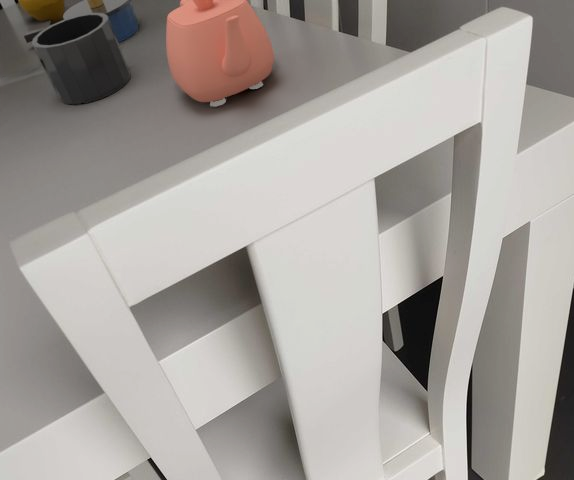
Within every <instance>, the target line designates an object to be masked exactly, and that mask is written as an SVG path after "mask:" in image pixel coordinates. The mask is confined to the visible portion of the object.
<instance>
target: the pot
mask: <svg viewBox="0 0 574 480" xmlns="http://www.w3.org/2000/svg"><path fill="white" fill-rule="evenodd" d="M48 26H49V25H48ZM31 45H32V47H33V49H34V51H35V54H36V55H37V57H38V59H39V62H40V64H41V66H42V68H43V69H44V72H45V74H46V75H47V77H48V79H49V82H50V83H51V85H52V87H53V90H54V91H55V93H56V95H57V97H58V98H59V100H60V101H61V102H62V103H63V104H64V105H65V104H66V105H69V104H80V105H82V104H81V103H86V104H88V103H87V102H90V103H92V102H91V101H94V102H96V101H95V100H97V101H99V100H98V99H100V100H102V99H101V98H103V99H105V98H107V97H109V96H111V95H114V94H115V93H116V92H119V91H120V90H121V89H122V88H123V87H125V86H126V85H127V84H128V83H129V81H130V79H131V77H132V75H131V71H130V68H129V65H128V63H127V59H126V57H125V54H124V53H123V50H122V48H121V45H120V42H118V40H117V37H116V35H115V32H114V30H113V28H112V25H111V23H110V20H109V18H108V16H107V15H105V14H103V13H87V14H82V15H77V16H74V17H71V18H68V19H62V20H61V21H60V22H58V23H55V24H53V25H51V26H49V27H48V28H46V29H44V30H43V31H41V32H40V33H38V34H37V35H36V36H35V37H34V38H33V41H32V42H31ZM106 96H107V97H106ZM104 97H105V98H104Z"/></svg>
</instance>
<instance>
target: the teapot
mask: <svg viewBox="0 0 574 480" xmlns="http://www.w3.org/2000/svg"><path fill="white" fill-rule="evenodd" d="M165 31H166V32H165V33H166V35H165V36H166V37H165V39H166V41H165V43H166V44H165V45H166V46H165V47H166V57H167V62H168V67H169V71H170V73H171V76H172V78H173V80H174V82H175V84H176V85H177V86H178V87H179V88H180V89H181V90H182V91H183V92H184V93H185V94H186V95H187V96H189V97H190V98H191V99H193V100H194V101H197V102H199V103H209V102H210V101H213V102H215V101H219V100H222V99H223V98H225V97H226V98H228V97H230V96H232V95H236V94H238V93H241V92H243V91H246V90H248V88H249V87H251V86H253V85H256V84H258V83H259V82H260V81H264V80H265V79H266V78H267V77H269V76H270V75H271V72H272V70H273V66H274V62H275V52H274V49H273V45H272V42H271V40H270V39H271V38H270V37H269V35H268V32H267V30H266V27H264V25H263V23H262V21H261V19H260V18H259V16H258V14H257V13H256V12H255V10H254V8H253V7H252V6H251V4H250V3H249V2H248V0H180V2H179V6H178V7H177V8H175V9H173V10H171V11H170V12H169V13H168V14H167V17H166V30H165Z"/></svg>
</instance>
